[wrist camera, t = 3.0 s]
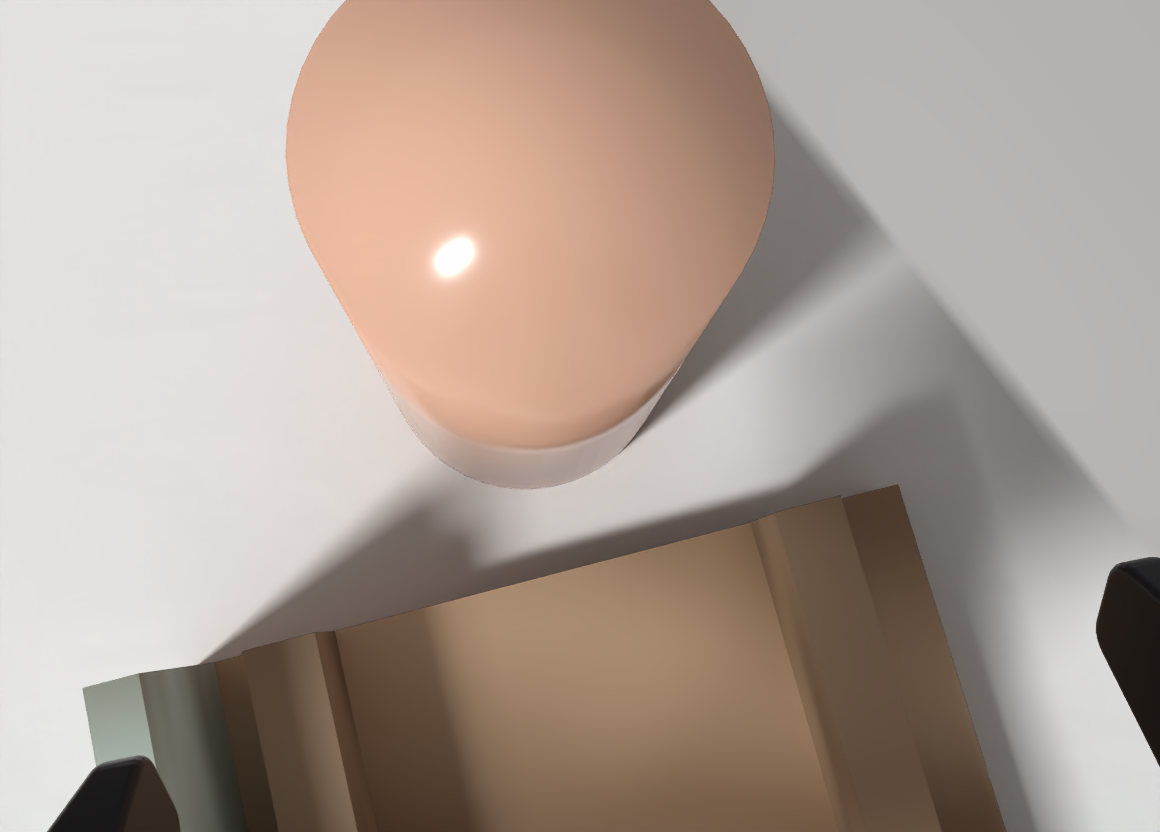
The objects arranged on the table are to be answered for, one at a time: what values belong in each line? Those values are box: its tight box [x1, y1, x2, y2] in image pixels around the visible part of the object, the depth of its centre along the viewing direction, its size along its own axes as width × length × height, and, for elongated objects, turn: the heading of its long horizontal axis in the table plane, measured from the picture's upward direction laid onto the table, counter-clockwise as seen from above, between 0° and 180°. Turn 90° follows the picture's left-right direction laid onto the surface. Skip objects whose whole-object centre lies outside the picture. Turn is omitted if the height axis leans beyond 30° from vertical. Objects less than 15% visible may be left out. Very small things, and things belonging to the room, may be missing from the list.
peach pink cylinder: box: [286, 0, 775, 489], centre depth 17 cm, size 6×6×10 cm
